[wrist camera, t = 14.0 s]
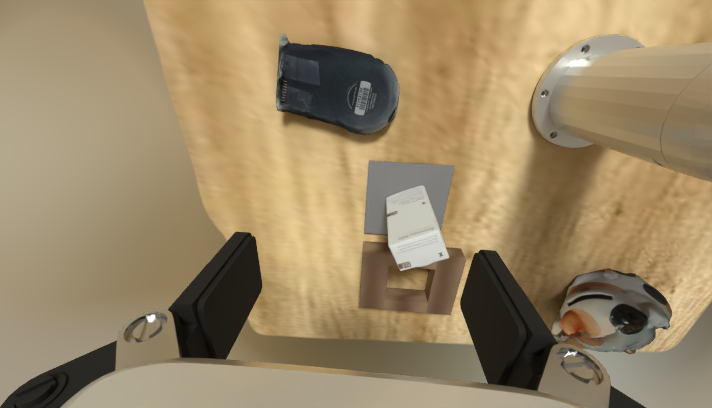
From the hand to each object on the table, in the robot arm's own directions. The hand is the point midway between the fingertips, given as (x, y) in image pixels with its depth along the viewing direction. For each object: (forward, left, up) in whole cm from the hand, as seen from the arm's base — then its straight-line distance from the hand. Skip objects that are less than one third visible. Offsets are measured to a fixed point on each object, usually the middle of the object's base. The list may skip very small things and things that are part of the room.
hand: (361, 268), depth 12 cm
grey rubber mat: (-6, +10, -28) cm, 31 cm away
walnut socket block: (-8, +24, -28) cm, 38 cm away
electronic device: (+4, -5, -29) cm, 30 cm away
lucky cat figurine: (-39, +26, -29) cm, 55 cm away
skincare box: (-6, +10, -28) cm, 30 cm away
